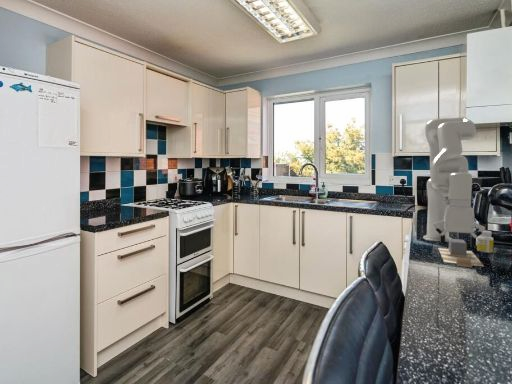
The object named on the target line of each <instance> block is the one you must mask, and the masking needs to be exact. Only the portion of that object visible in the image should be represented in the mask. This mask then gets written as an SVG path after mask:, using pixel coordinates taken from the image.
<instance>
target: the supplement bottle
mask: <svg viewBox="0 0 512 384" xmlns="http://www.w3.org/2000/svg"><path fill="white" fill-rule="evenodd" d="M476 250H477V252H479V253H480V252H481V253H489V254H491V253H493V252H494V237H492V231H490V230H486V229H485V230H484V231H483V232H482V234H481V235H480V236H478V237H477V238H476Z"/></svg>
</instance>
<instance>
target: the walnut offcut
mask: <svg viewBox="0 0 512 384" xmlns="http://www.w3.org/2000/svg"><path fill="white" fill-rule="evenodd" d="M456 265H457V267H460V268H461V267H462V268H470V269H473V265H472V264H471V259H463V258H457V263H456Z"/></svg>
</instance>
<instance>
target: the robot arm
mask: <svg viewBox="0 0 512 384" xmlns="http://www.w3.org/2000/svg"><path fill="white" fill-rule="evenodd" d="M424 129H425V137H426V140H427V143H428V146H429V175H430V178H429V179H428V180H427V181H426V190H427V191H426V193H427V219H426V220H427V221H426V222H427V223H426V234H425V235H423V237H422V238H423V239H424V240H425V241H435V242H440V243H441V245H442V246H443V247H444V246H446V242H447V243H449V239H453V238H452V237H450V233H457V234H470V235H471V236H470V238H469V239H470V240H469V246H470V248H471V249H474V248H475V246H476V247H477V237H478V236H480V235H481V234H482V232H483V231H484V230H486V227H485V226H483V225H481V224H479V223H477V222H476V221H475V220H476V219H475V210H474V208H473V207H472V205H471V204H472V192H473V190H472V189H473V188H472V187H473V184H472V183H473V175H472V173H470V172H469V160H468V159H467V157H466V156H464V155H462V153H463V145H462V141H469V140H472V139H474V138H475V136H476V131H477V129H476V124H475V122H474V121H472V120H470V119H468V118H466V117H448V118H447V117H446V118H445V117H444V118H436V119H435V118H434V119H431V120H428V122H426V124H425V127H424ZM445 197H448V199H446V198H445ZM475 228H478V230H477V231H476V232H475Z"/></svg>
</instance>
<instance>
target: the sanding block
mask: <svg viewBox="0 0 512 384" xmlns="http://www.w3.org/2000/svg"><path fill="white" fill-rule="evenodd" d="M467 247H468V244H467V242H466V241H465V240H464V239H458V238H457V239H456V238H452V239H449V242H448V249H449V252H450V254H451V255H454V256H463V257H466V252H467V251H468V249H467Z"/></svg>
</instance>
